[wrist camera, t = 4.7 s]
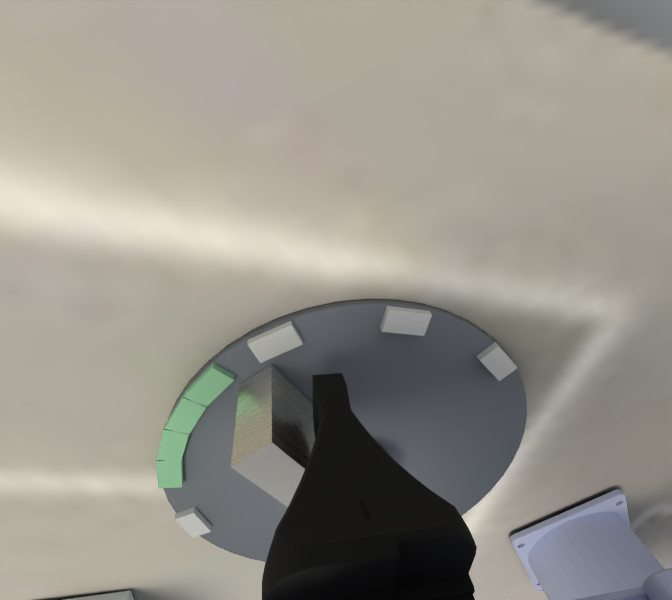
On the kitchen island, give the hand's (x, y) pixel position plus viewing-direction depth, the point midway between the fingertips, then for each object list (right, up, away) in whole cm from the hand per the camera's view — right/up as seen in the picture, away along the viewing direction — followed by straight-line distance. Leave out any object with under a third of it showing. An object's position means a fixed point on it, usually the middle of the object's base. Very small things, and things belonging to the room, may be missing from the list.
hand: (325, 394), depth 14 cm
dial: (+1, -4, +5) cm, 7 cm away
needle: (0, -3, +3) cm, 4 cm away
